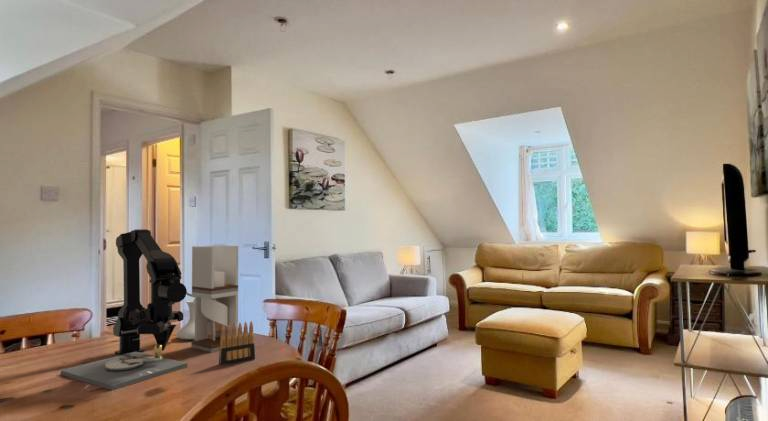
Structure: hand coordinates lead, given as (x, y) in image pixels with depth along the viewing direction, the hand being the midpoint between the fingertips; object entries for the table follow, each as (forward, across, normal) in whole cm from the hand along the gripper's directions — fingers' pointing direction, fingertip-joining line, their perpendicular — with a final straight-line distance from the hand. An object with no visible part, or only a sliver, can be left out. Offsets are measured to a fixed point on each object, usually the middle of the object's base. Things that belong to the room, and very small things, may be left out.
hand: (161, 350), depth 136 cm
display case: (+5, -22, +9) cm, 24 cm away
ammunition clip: (+5, -3, +22) cm, 22 cm away
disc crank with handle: (+3, +3, -7) cm, 8 cm away
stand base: (+5, +3, -9) cm, 11 cm away
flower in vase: (+6, -36, -3) cm, 36 cm away
